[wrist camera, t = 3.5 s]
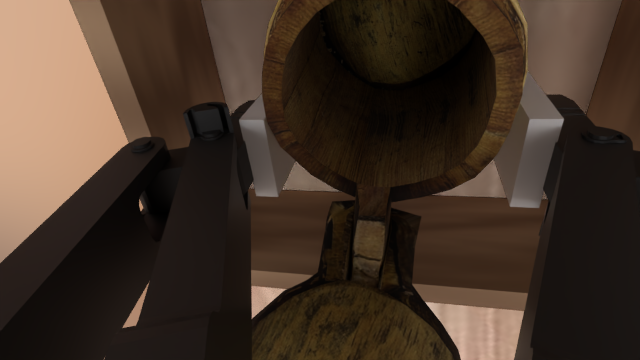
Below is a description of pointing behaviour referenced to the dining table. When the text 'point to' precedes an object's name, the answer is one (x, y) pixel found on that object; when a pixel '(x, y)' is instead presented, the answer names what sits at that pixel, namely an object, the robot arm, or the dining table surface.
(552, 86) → the dining table surface
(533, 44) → the dining table surface
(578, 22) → the dining table surface
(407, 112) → the wooden mug
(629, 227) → the robot arm
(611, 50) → the wooden frame
